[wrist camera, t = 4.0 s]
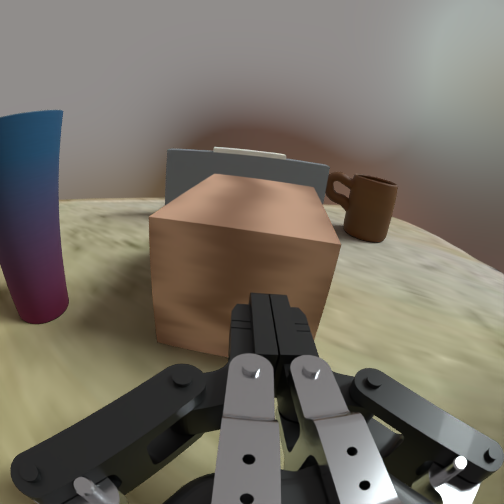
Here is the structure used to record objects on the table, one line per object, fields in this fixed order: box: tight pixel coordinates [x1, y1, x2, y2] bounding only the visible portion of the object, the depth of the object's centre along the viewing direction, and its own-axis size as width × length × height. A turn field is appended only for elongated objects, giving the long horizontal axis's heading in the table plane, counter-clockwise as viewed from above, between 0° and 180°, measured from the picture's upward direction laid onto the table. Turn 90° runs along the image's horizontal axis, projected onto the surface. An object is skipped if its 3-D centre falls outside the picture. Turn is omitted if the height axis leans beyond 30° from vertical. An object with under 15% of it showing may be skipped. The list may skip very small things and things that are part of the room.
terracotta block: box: [149, 174, 341, 357], centre depth 23 cm, size 10×15×9 cm, turn 174°
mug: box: [325, 172, 398, 242], centre depth 43 cm, size 12×8×9 cm, turn 75°
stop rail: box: [165, 147, 330, 205], centre depth 43 cm, size 23×7×11 cm, turn 92°
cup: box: [0, 110, 69, 324], centre depth 15 cm, size 7×7×15 cm
